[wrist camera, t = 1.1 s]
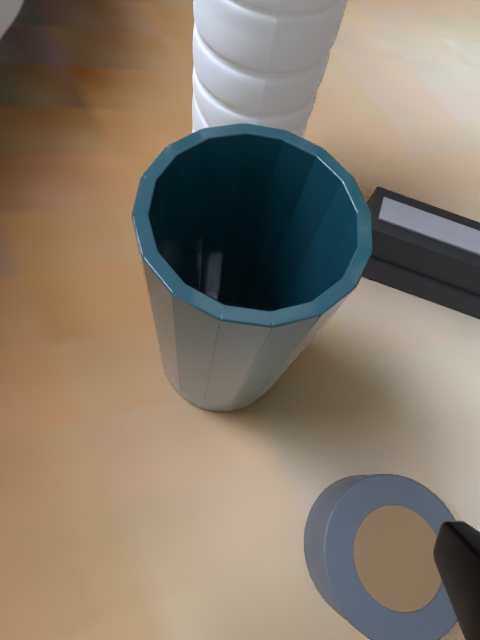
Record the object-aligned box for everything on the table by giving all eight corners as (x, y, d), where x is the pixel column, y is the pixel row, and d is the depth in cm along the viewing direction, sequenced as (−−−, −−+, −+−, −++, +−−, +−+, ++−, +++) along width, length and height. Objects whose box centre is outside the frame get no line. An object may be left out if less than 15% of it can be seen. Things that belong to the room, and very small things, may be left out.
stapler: (493, 274, 28) (545, 239, 24) (489, 322, 26) (543, 293, 22) (350, 223, 28) (377, 179, 24) (338, 267, 26) (365, 229, 22)
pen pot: (294, 393, 23) (411, 292, 11) (178, 426, 21) (165, 353, 9) (258, 290, 25) (322, 112, 13) (150, 314, 24) (112, 139, 12)
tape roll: (452, 594, 20) (500, 614, 17) (332, 648, 18) (360, 680, 15) (396, 459, 22) (430, 455, 19) (285, 498, 21) (302, 500, 18)
